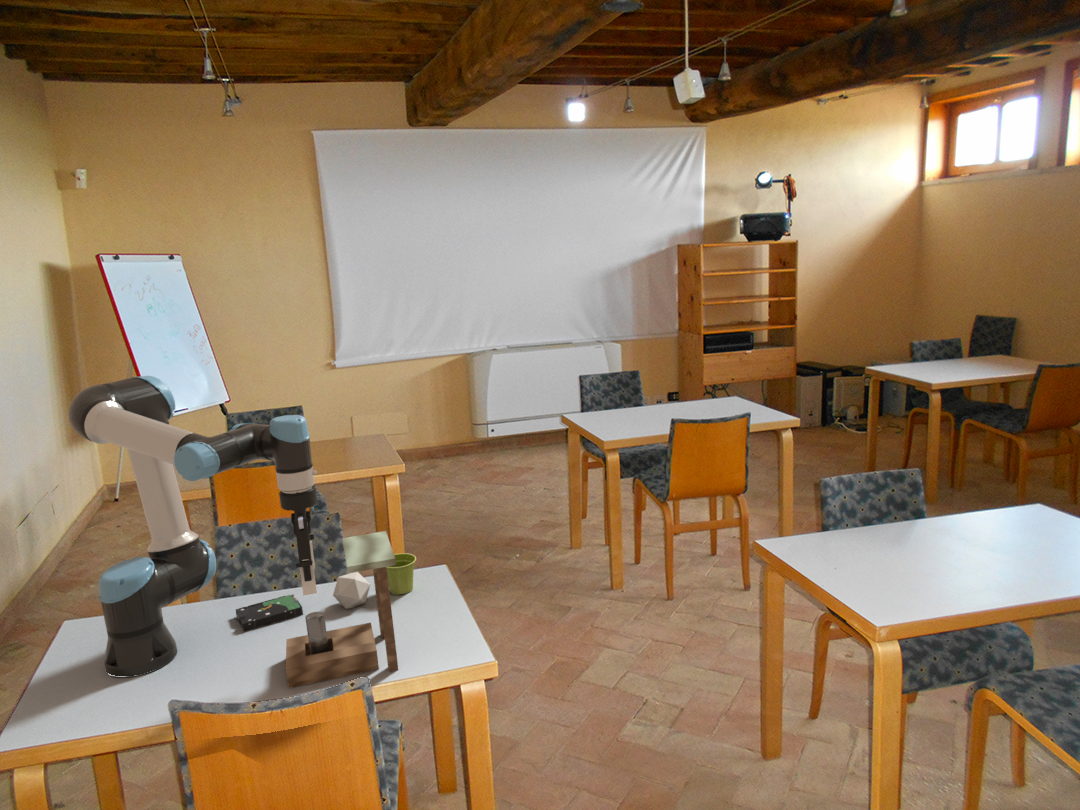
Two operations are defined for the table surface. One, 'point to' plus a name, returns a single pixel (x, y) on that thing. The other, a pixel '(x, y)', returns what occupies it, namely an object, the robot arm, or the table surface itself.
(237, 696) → the table surface
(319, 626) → the peg
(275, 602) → the disk drive
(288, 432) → the robot arm
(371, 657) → the socket stand
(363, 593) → the die
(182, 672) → the table surface
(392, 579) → the plant pot
